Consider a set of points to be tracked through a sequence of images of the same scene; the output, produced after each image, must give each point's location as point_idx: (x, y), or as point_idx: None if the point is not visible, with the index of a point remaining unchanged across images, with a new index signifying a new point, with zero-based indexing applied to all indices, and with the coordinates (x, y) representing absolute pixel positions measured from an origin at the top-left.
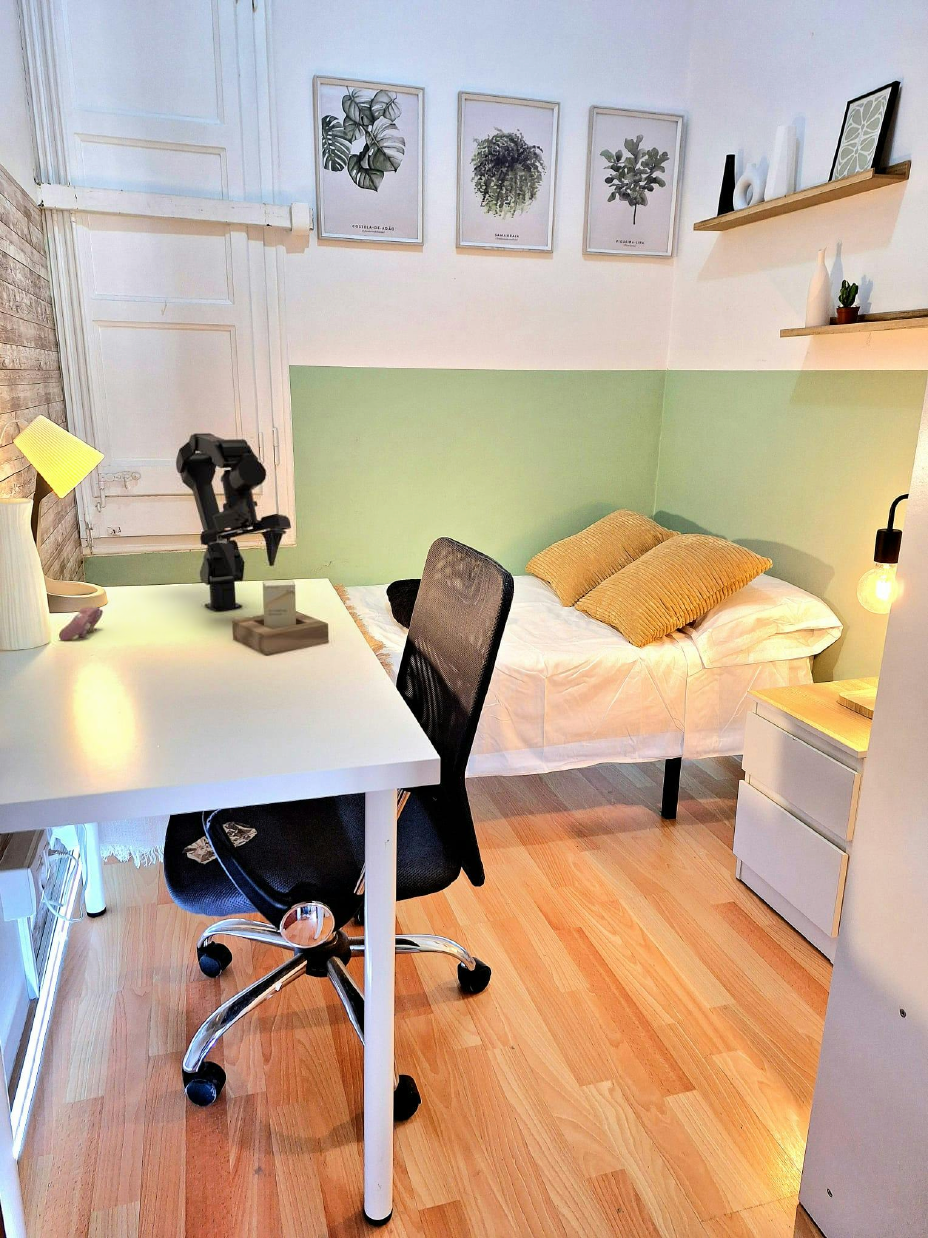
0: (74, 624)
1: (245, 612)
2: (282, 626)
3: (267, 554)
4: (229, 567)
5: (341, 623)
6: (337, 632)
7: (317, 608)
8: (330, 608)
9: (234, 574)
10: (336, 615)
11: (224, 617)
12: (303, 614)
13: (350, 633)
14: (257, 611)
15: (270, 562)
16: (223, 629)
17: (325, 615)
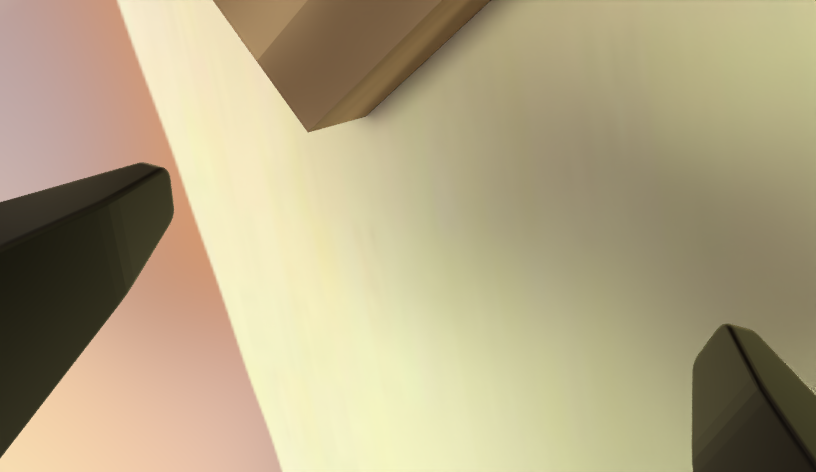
0: None
1: (672, 459)
2: None
3: (40, 223)
4: (788, 394)
5: (194, 181)
6: (173, 29)
7: (329, 433)
8: (282, 419)
9: (703, 349)
10: (238, 309)
11: (813, 383)
12: (228, 9)
13: (126, 15)
14: (600, 459)
15: (121, 175)
16: (802, 81)
17: (277, 317)
